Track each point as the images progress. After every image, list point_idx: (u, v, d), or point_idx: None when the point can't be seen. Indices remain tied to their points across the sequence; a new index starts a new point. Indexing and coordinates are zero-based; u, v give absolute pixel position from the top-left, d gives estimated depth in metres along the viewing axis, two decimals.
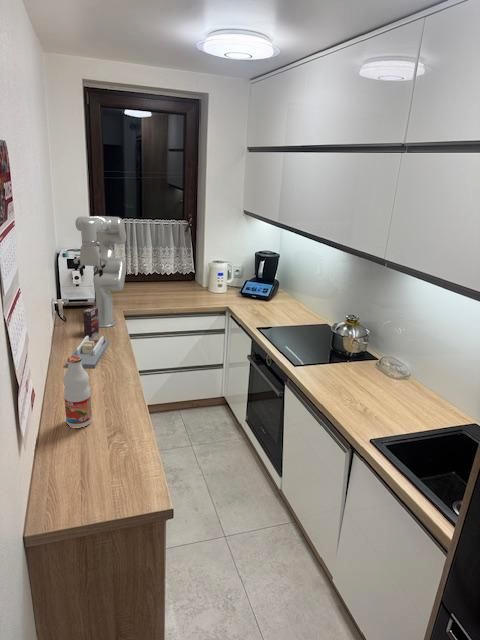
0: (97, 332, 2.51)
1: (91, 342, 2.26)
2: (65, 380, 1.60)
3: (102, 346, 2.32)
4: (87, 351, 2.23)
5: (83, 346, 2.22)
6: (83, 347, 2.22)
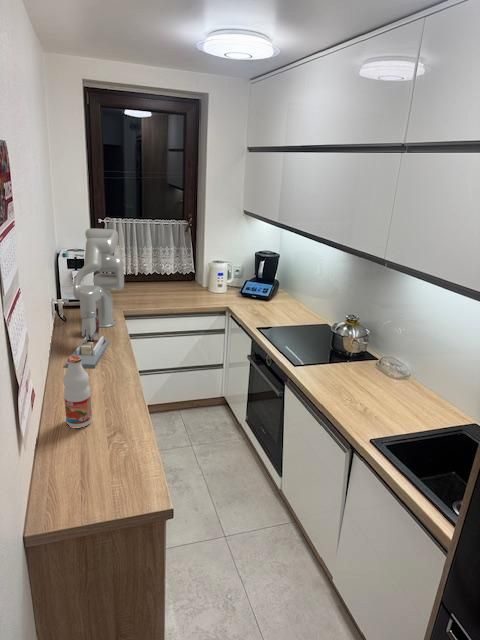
0: (97, 332, 2.51)
1: (90, 343, 2.24)
2: (65, 380, 1.60)
3: (102, 346, 2.32)
4: (86, 352, 2.21)
5: (82, 347, 2.20)
6: (82, 348, 2.21)
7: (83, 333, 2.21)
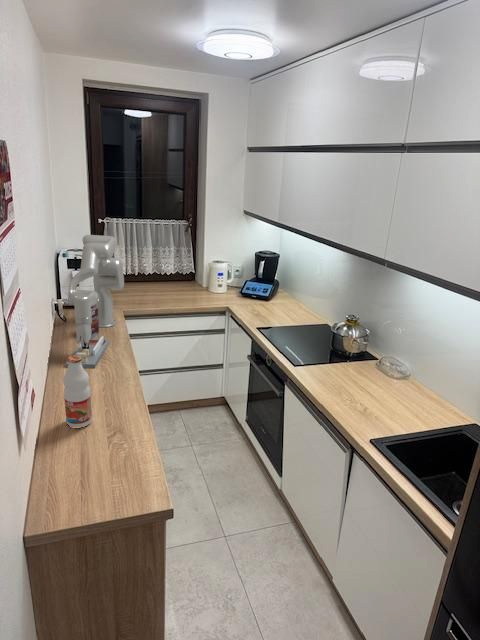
0: (97, 332, 2.51)
1: (86, 350, 2.16)
2: (65, 380, 1.60)
3: (102, 346, 2.32)
4: (82, 360, 2.13)
5: None
6: None
7: (78, 340, 2.13)
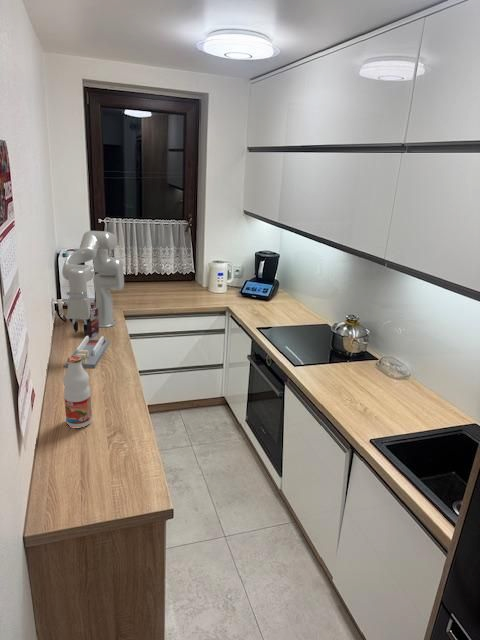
0: (97, 332, 2.51)
1: (85, 351, 2.15)
2: (65, 380, 1.60)
3: (102, 346, 2.32)
4: None
5: None
6: None
7: (89, 314, 2.07)
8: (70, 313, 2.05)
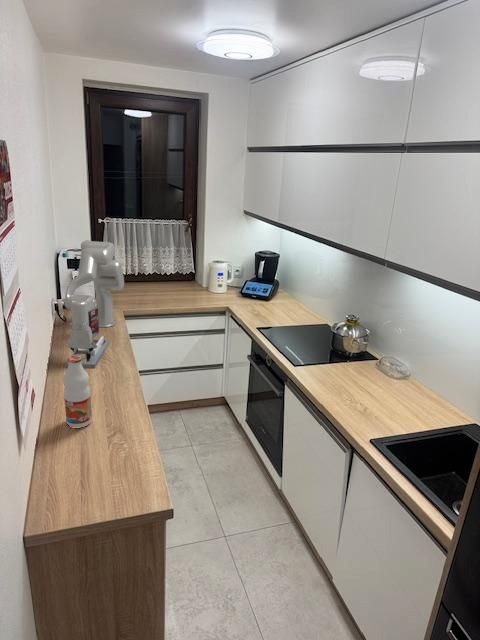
0: (97, 332, 2.51)
1: (85, 351, 2.15)
2: (65, 380, 1.60)
3: (102, 346, 2.32)
4: None
5: None
6: None
7: (91, 344, 2.12)
8: (72, 343, 2.11)
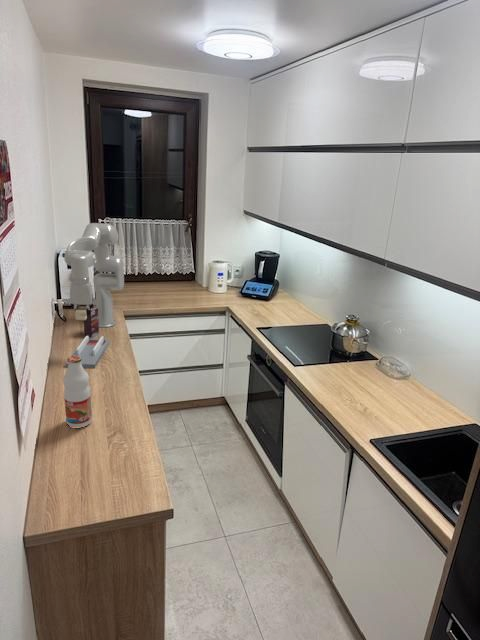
0: (97, 332, 2.51)
1: (85, 308, 2.12)
2: (65, 380, 1.60)
3: (102, 346, 2.32)
4: (81, 317, 2.10)
5: (76, 312, 2.09)
6: (76, 313, 2.09)
7: (91, 299, 2.10)
8: (72, 298, 2.08)
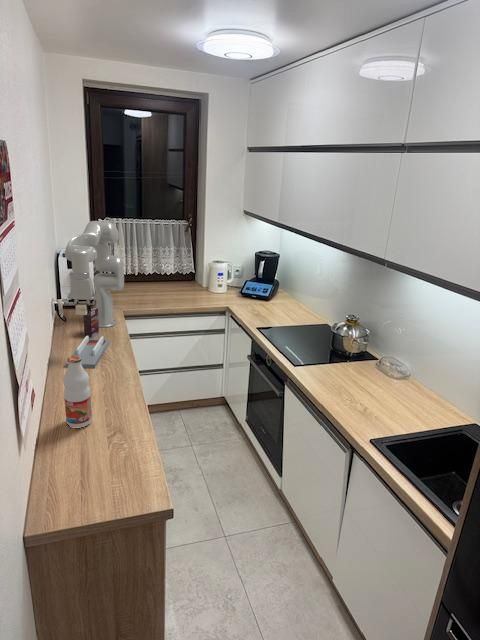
0: (97, 332, 2.51)
1: (85, 303, 2.12)
2: (65, 380, 1.60)
3: (102, 346, 2.32)
4: (81, 312, 2.10)
5: (77, 307, 2.09)
6: (77, 308, 2.09)
7: (92, 294, 2.10)
8: (73, 293, 2.08)
